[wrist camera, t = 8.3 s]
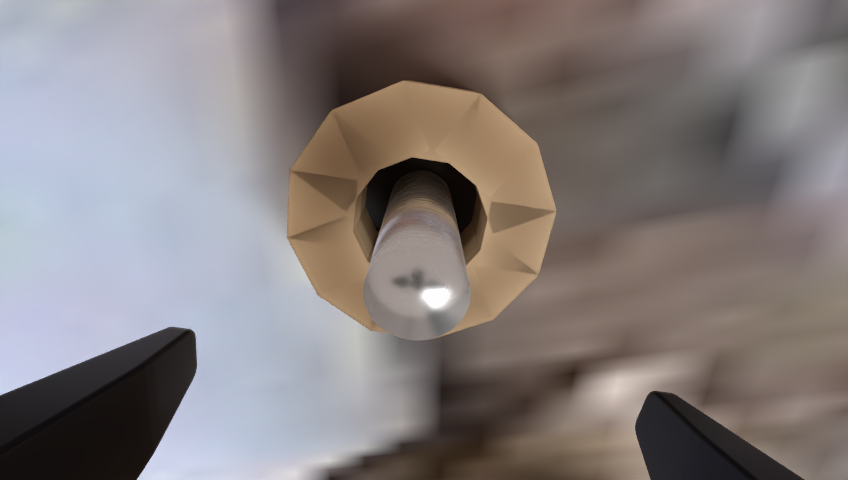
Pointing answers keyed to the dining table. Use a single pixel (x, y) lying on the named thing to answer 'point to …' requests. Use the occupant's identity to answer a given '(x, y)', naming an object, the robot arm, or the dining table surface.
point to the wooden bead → (433, 140)
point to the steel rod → (418, 262)
